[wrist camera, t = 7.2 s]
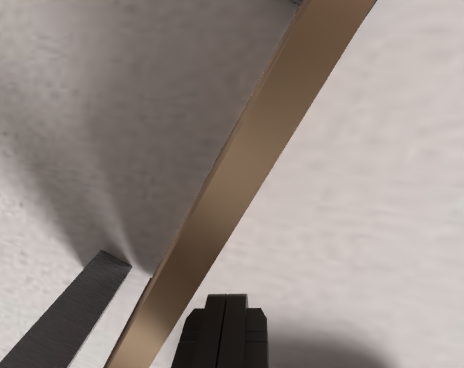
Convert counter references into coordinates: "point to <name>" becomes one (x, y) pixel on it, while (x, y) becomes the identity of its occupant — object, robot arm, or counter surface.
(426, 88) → the counter surface
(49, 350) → the post
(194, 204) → the gate
